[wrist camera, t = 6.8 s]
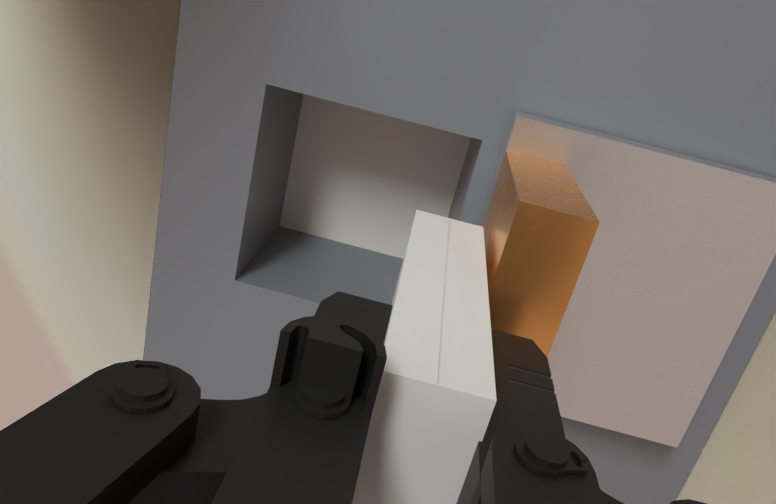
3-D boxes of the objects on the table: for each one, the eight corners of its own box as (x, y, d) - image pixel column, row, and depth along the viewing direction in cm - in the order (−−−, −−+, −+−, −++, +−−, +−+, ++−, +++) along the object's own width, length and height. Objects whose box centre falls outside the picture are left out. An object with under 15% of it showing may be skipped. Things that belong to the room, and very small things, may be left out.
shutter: (514, 109, 15) (534, 156, 11) (790, 182, 15) (927, 258, 11) (434, 366, 18) (424, 488, 13) (668, 428, 18) (736, 572, 13)
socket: (268, -144, 18) (201, -193, 14) (820, -4, 18) (942, -5, 13) (199, 335, 24) (137, 414, 20) (613, 446, 24) (648, 552, 20)
